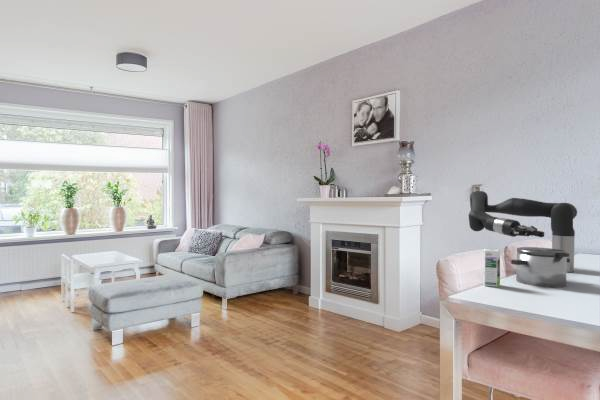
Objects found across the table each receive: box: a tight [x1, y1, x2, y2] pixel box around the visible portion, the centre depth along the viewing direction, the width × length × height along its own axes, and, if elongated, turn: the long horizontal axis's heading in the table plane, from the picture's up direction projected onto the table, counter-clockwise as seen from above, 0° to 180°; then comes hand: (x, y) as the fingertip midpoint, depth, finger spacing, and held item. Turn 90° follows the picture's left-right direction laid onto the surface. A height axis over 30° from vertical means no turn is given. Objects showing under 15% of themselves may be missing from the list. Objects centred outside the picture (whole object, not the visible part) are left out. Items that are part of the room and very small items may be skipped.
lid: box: [516, 246, 569, 257], centre depth 168 cm, size 20×18×1 cm
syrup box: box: [483, 248, 501, 288], centre depth 163 cm, size 6×6×14 cm
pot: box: [510, 251, 570, 288], centre depth 169 cm, size 18×28×12 cm, turn 107°
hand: (543, 234), depth 172 cm, fingers closed
